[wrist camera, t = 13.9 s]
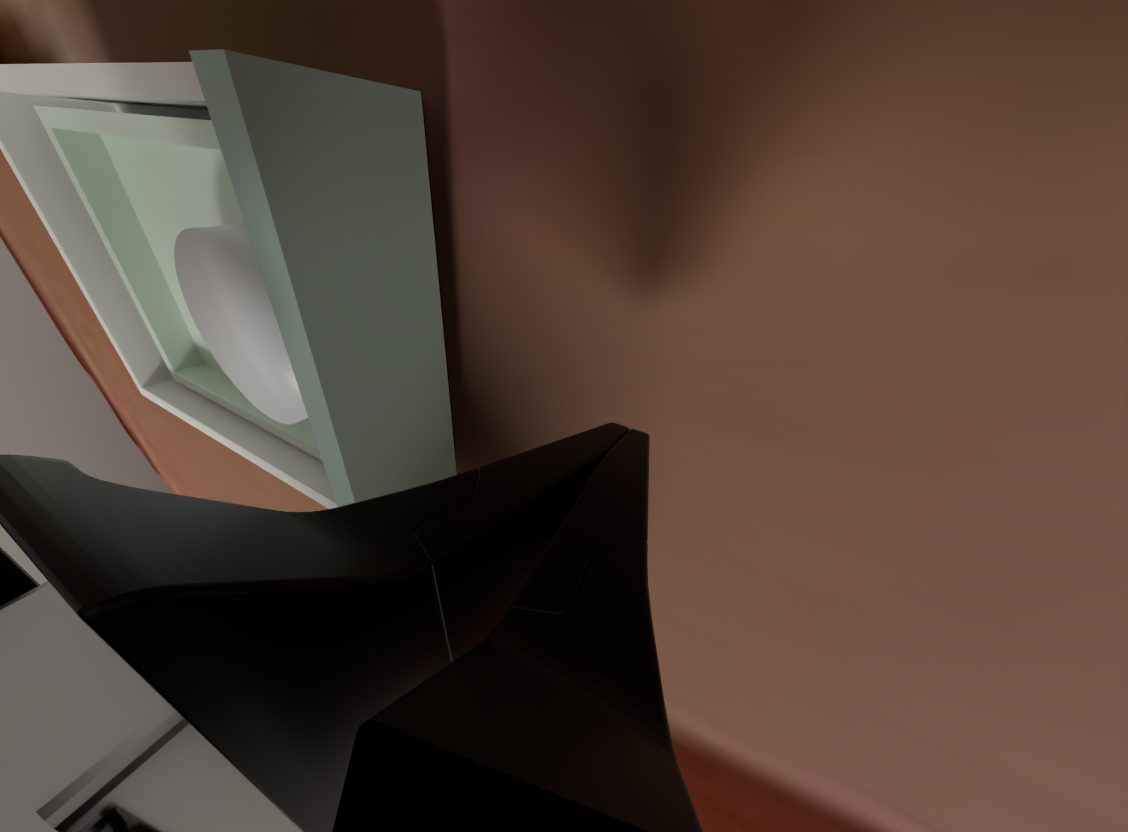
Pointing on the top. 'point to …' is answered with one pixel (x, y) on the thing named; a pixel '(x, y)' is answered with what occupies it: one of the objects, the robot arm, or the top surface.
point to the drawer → (290, 250)
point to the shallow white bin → (15, 128)
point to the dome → (237, 317)
